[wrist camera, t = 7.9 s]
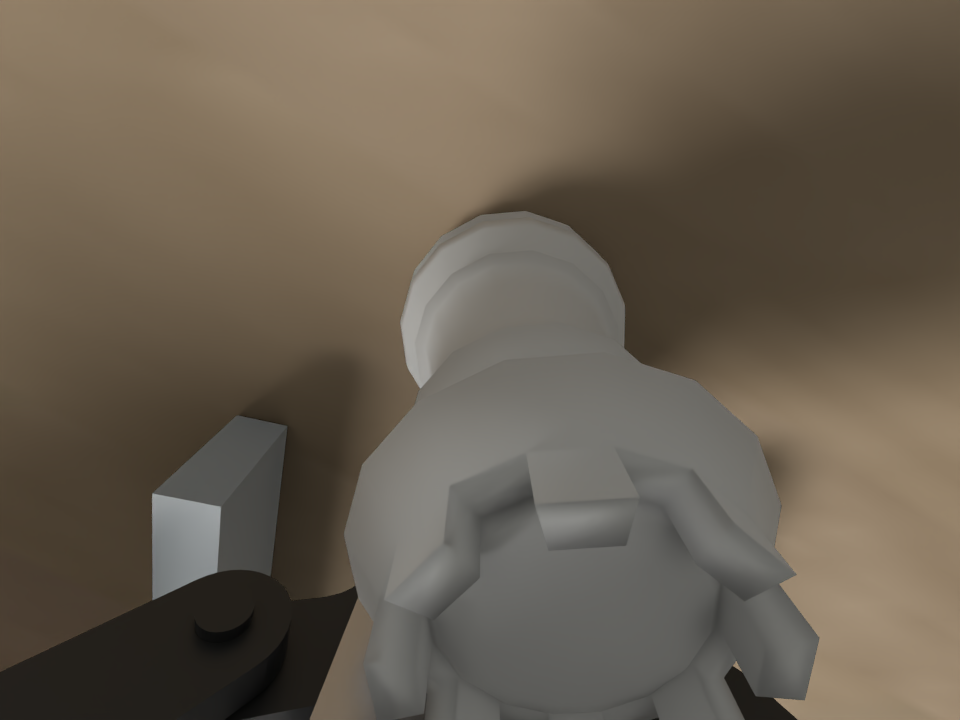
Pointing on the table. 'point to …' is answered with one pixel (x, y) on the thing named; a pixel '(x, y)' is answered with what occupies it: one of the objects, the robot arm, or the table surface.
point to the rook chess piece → (561, 508)
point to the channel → (219, 507)
